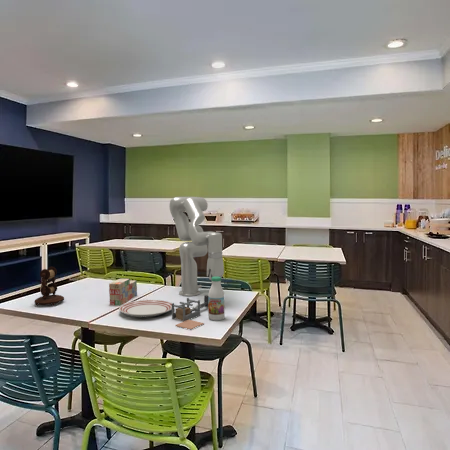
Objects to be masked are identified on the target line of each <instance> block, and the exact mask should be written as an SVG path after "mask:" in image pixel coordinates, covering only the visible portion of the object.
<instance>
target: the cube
mask: <svg viewBox="0 0 450 450" xmlns="http://www.w3.org/2000/svg"><path fill="white" fill-rule="evenodd" d="M182 307H183V306H182ZM190 308H191V307H190V306H189V307H187V306H185V315H188V314H190V313H191V310H190ZM175 312H176V318H175V319H176V320H179V321H183V309H182V308H178V307H175Z"/></svg>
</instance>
